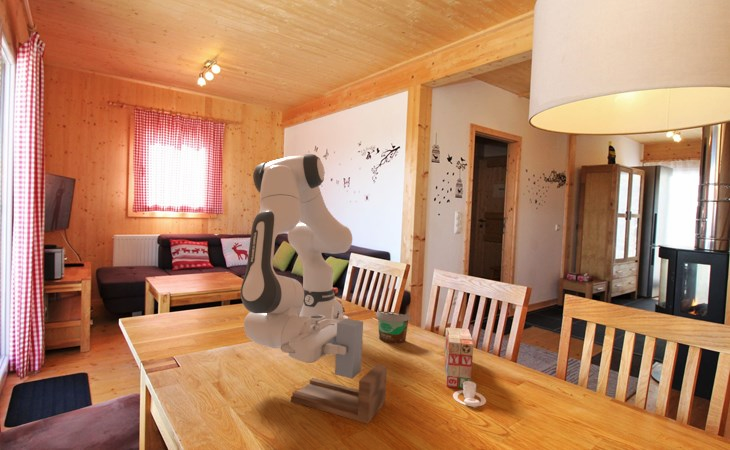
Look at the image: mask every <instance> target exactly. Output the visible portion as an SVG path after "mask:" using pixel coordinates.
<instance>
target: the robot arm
mask: <svg viewBox="0 0 730 450" xmlns="http://www.w3.org/2000/svg"><path fill="white" fill-rule="evenodd" d="M252 173H253V175H252V176H253V183H254V187H255V189H256V191H258V192H259V194H260V195H259V212H258V213H257V215H256V216H255V218H254V220H253V222H252V227H251V233H250V239H249V246H248V248H249V249H248V254H247V261H246V263H247V264H246V269H245V273H244V277H243V280H242V283H241V286H240V298H241V299H240V300H241V302H242V304H243V306H244V308H245V309H246V310H248V313H247V314H246V316H245V318H244V321H243V331H244V333H245V336H246V337H247V338H248V340H250V341H252V342H254V343H256V344H258V345H260V346H264V347H267V348H270V349H280V351H281V352H283V353H287V355H288V356H289V357H290V358H292V359H294V360H297V361H300V362H302V363H306V364H313V363H315V362H317V361H318V360H320V359H322V358H323V357H324V356H326V355H336V354H342V355H345V354H346V353H347V352H348V346H347V345H343V344H341V345H336V338H337V323H339V322H340V321H342V320H344V319H346V318H347V319H349V316H347V315H345V314H343V313H344V311H343V304H342V305H341V304H340V303H339V302H338V301H337V300H338V299H337V298H336V296H335V294H337V293H338V292H339V289H338V287H333V283H334V269H333V267H332V266H331V264H330V263H328V262H327V261H326V260H325V259H324V257H323V255H322V254H333V255H335V254H342V253H343V254H344V253H346V252H348V251H349V250H350V248H351V246H352V244H353V234H352V231H351V229H350V228H349V227H348V226H346V225H344V224H342V222H340V221H338V219H336V218H335V217H334V215H332V213H331V212H330V211H329V209H328V208H327V206H326V204H325V200H324V198H323V194H322V192H321V189H320V186H322V183H323V182H324V179H325V167H324V164H323V162H322V160H321V158H320V157H319V156H317V155H316V154H314V153H313V154H312V153H305V154H304V155H291V156H286V157H282V158H278V159H275V160H271V161H269V162H267V161H264V162H262V163H260V164H258V165H257V166H256V167H255V168H254V169H253V172H252ZM284 233H287V240H288V243H289V245H290V246H291V247H292V248H293V249H294V250H295V252H296V254H297V255H298V257H299V259H300V262H301V265H302V276H303V280H302V281H303V283H301V282H300V281H299V280H297V279H296V278H292V277H288V276H285V275H280V274H277V273H276V271H275V270H274V255H275V243H276V238H277V237H278V235H282V234H284ZM336 299H337V300H336Z"/></svg>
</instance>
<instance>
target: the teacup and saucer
mask: <svg viewBox="0 0 730 450" xmlns="http://www.w3.org/2000/svg"><path fill="white" fill-rule="evenodd" d="M460 394H463V397H464V400H463V401H462V400H461V399H460V398H459V397H458V396H459V395H460ZM476 396H477V397H479V399H480V400H479V399H477V398H475V397H476ZM452 397H453V399H454V400H455V401H456V402H458V404H461V405H464V406H469V407H472V408H473V407H474V408H476V407H481V406H484V405H485V404H486V403H487V399H486V398H485V396H483V394H481V393H480V392H479V393H478V392H477V384H476V383H475V381H472V380H471V381H465V382H464V383H463V388H462V390H456V391H455V392H453V394H452Z"/></svg>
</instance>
